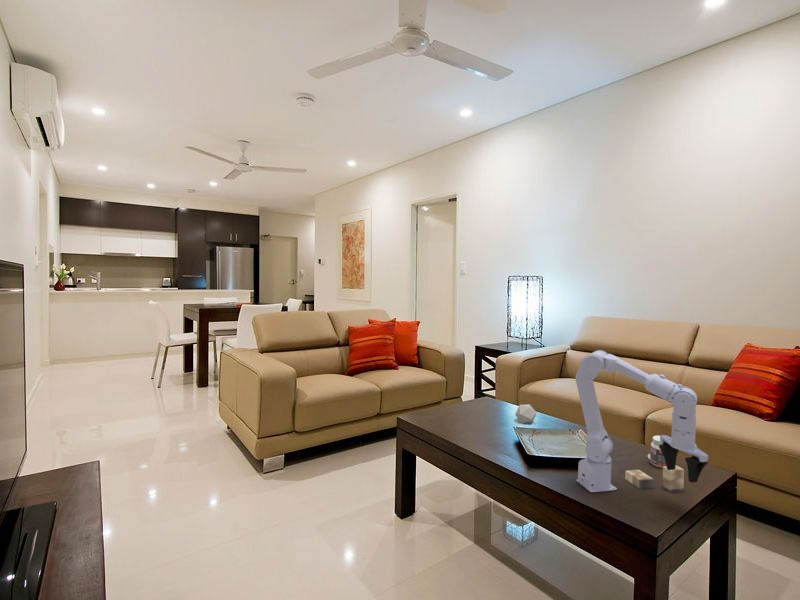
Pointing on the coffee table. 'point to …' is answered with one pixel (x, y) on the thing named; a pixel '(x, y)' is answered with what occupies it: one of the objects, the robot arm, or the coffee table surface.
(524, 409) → the die
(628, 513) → the coffee table surface
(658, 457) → the pill bottle
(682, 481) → the beech tile
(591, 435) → the robot arm
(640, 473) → the beech tile
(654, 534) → the coffee table surface
